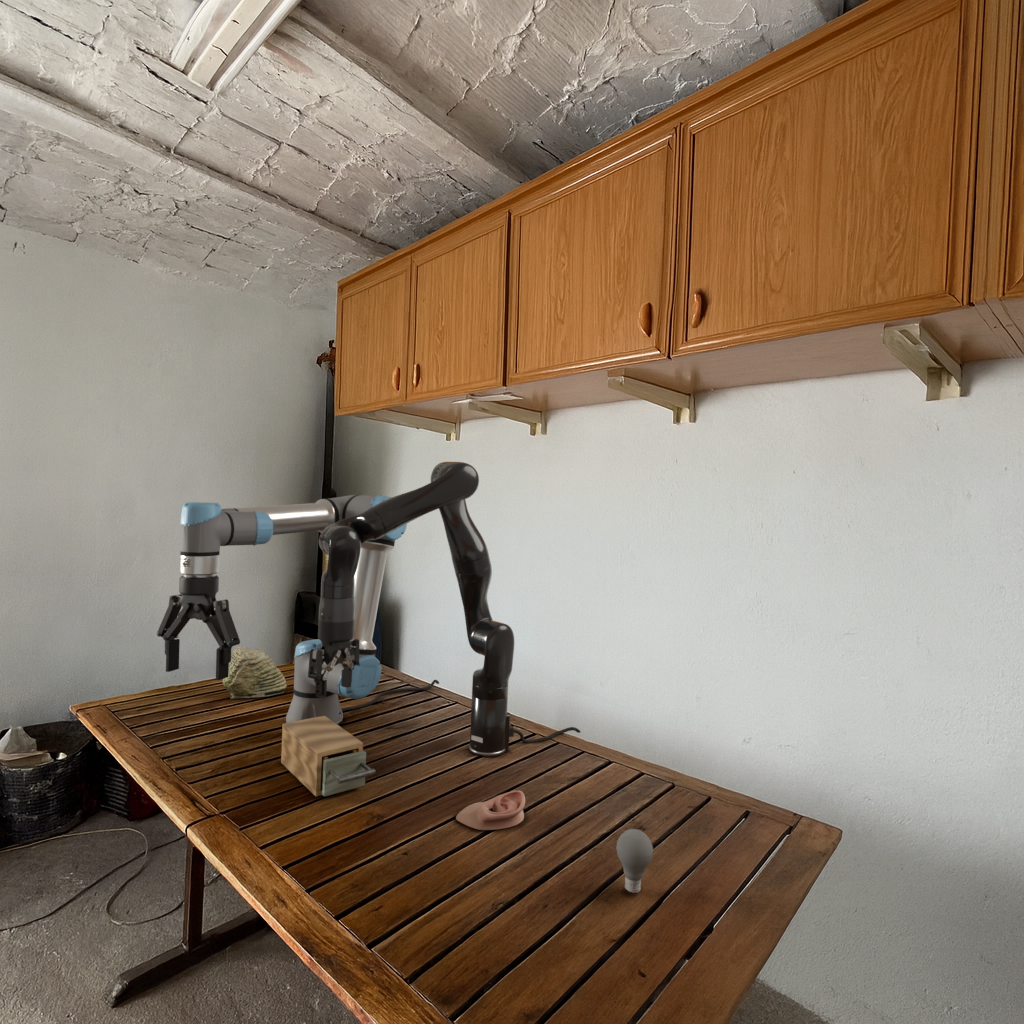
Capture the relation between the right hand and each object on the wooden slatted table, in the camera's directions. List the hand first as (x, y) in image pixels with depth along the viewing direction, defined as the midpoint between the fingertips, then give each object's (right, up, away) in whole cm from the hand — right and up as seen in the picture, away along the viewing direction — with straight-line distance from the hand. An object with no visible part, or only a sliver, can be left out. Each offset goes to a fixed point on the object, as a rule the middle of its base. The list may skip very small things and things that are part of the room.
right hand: (333, 691), depth 137 cm
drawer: (-1, -20, +3) cm, 20 cm away
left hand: (-29, +4, -2) cm, 29 cm away
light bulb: (+59, -24, -32) cm, 71 cm away
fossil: (-42, -18, +61) cm, 76 cm away
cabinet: (-5, -21, +8) cm, 23 cm away
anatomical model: (+34, -23, -9) cm, 42 cm away
